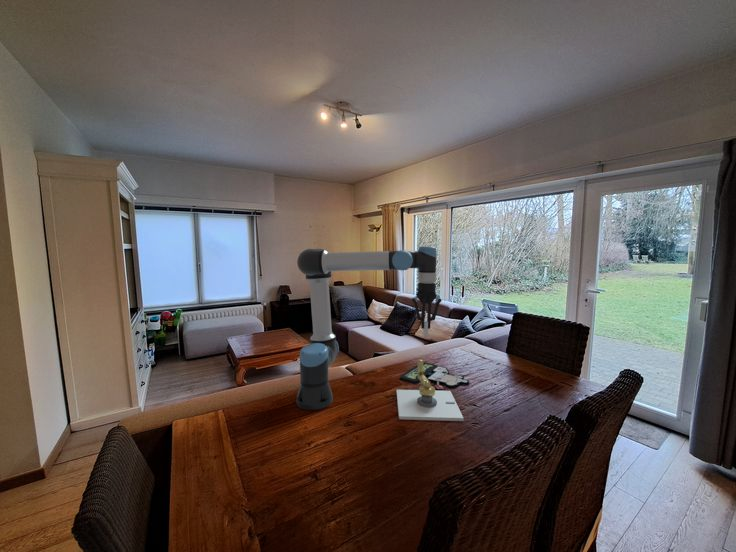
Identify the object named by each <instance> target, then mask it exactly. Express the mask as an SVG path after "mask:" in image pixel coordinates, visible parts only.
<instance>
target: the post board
mask: <svg viewBox="0 0 736 552" xmlns="http://www.w3.org/2000/svg"><path fill="white" fill-rule="evenodd" d="M396 399H397V412H398V420H410V421H413V420H415V421H444V422H445V421H447V422H448V421H449V422H464V420H465V419H464V416H463V414H462V412H461V410H460V408H459V406H458V403H457V402H456V399H455V397H454V395H453V393H452V392H451V390H447V391H436V390H435V395H434V396H431V397H427V396H423V395H421V394H420V393H419V389H396Z"/></svg>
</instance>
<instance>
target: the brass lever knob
mask: <svg viewBox="0 0 736 552" xmlns="http://www.w3.org/2000/svg"><path fill="white" fill-rule="evenodd" d="M423 362H424V359H421V358H420V359H419V358H418V359H417V365H418V379H419V380H420V381H421V382H420V383H422V384H421V385H420V386H419V387H418V390H419V393H420V394H421V395H423V396H427V397H431V396H434V395H435V388H434V387H433V386H434V385H431V382H430V381H429V380H428V379H427V377H425V376H424V374H423Z"/></svg>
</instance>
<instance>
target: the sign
mask: <svg viewBox="0 0 736 552" xmlns="http://www.w3.org/2000/svg"><path fill="white" fill-rule="evenodd" d="M423 374H424V376H425V377H426V378H427V379H428V380H429V381H430V383H432V384H433V385H432V386H433V387H434V388H435V390H436V391H448V389H457V388H458V387H460V386H469V385H470V380H468V379H465V377H464V376H463V375H461V374H450V371H449V369H448V367H443V366H441V365H437V364H434V363H429V362H426V361H423ZM399 379H400V381H403V382H407V383H410V384H414V385H415V384H416V385H417V384H419V383H422V382H421V381H420V380H419V379H418V364H416V365H414V366H413V367H411V368H410V369H409V370H407V371H405V372H403V373H402V374H401V375H399ZM446 388H448V389H446Z"/></svg>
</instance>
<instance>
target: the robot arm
mask: <svg viewBox="0 0 736 552" xmlns="http://www.w3.org/2000/svg"><path fill="white" fill-rule="evenodd" d="M437 259H438V258H437V248H436V247H435V246H429V245H428V246H427V245H426V246H425V245H424V246H419V247H418V250H403V249H402V250H381V251H380V250H377V251H350V252H349V251H345V252H342V251H340V252H339V251H338V252H328V250H325V249H322V248H307V249H304V250H302V251H301V252H300V253H299V255H298V257H297V259H296V260H297V261H296V264H297V267H298V269H299V271H300V273H302V274H303V275H305V280H306V281H307V282H308V283H309V292H310V294H309V295H310V305H311V306H310V307H311V320H312V333H313V334H312V335H311V336H310V340H309V341H310V343H309V344H306V345H304V346H303V347H302V348H301V350H300V352H299V358H298V359H299V375H300V376H299V377H300V380H299V381H300V385H299V389H298V392H297V395H296V406H297V407H298V408H299V409H302V410H305V411H319V410H322V409H325V408H327V407H328V406H330V405H332V403H333V401H334V400H333V399H334V398H333V397H334V396H333V392H332V389H331V386H330V383H329V368H330V367H331V366H332V363H334V362H335V361H336V359H337V358H338V354H339V351H340V348H339V347H340V346H339V343H338V341H337V340H336V339H337V338H336V334H334V332H333V329H332V314H331V300H330V299H331V298H330V297H331V296H330V287H329V286H330V285H329V282H330V281H331V279H332V272H351V271H352V272H353V271H354V272H355V271H358V272H359V271H407V270H409V269H418V271H417V272H418V274H417V275H418V278H417V281H418V283H417V293H416V295H415V296H414V297H411V301H412V302H413V305H414V309H415V314H416V318H417V320H418V321H420V323H421V325H420V327H421V329H423V331H422V333H423V337H425V338H426V337H428V334H429V329H431V323H432V322H433V321H435V319H436V318H437V312H438V311H439V306H440V303H441V302H442V300H443V299H442V298H440V297H438V296H437V292H436V286H437V284H436V283H435V282H436V281H437ZM418 300H419V302H420V303H421V313H420V310H419V305H418V303H417V302H418ZM434 301H435V302H434ZM433 302H434V306H433V310H432V304H433ZM426 305H427V306H426ZM426 307H427V310H426ZM425 319H426V320H425Z"/></svg>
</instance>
